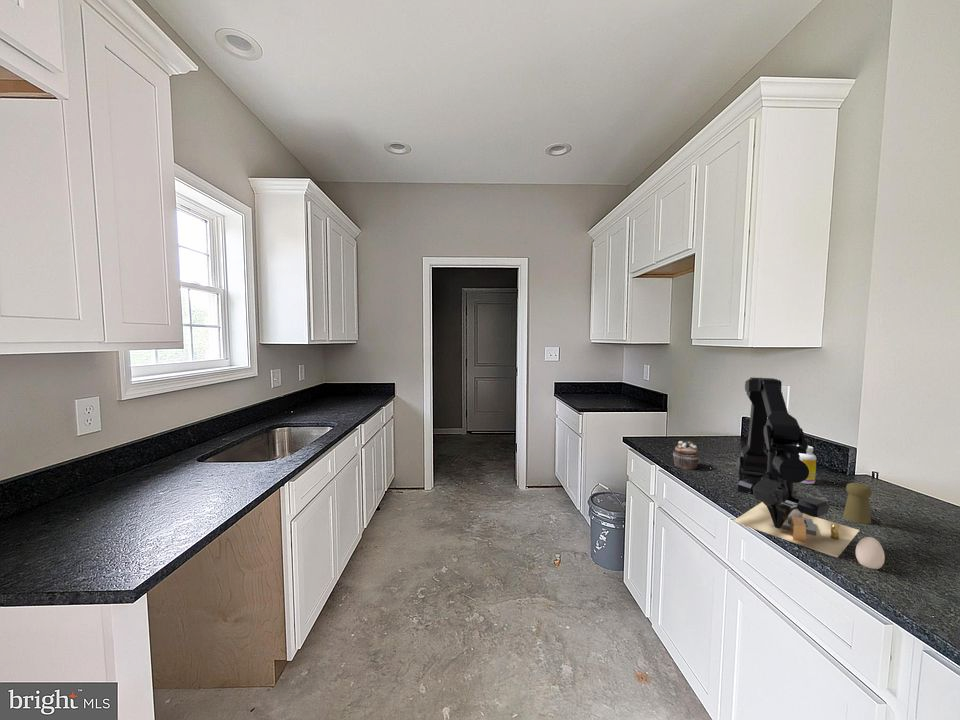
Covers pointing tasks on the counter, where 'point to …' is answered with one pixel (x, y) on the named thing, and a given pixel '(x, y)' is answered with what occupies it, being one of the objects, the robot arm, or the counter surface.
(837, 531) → the dowel pin
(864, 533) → the counter surface
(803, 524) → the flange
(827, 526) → the board
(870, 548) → the egg
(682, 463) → the cupcake
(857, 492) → the cork
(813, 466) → the supplement bottle
